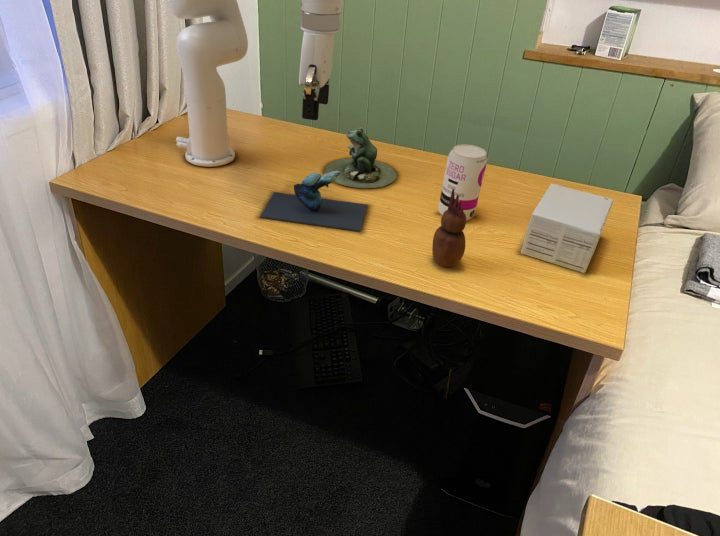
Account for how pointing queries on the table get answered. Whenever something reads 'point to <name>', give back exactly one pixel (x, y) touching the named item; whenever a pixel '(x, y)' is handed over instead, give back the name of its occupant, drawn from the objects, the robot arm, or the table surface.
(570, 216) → the supplement box
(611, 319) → the table surface
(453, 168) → the supplement can
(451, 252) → the wooden figurine
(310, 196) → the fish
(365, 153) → the frog figurine
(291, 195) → the mat
